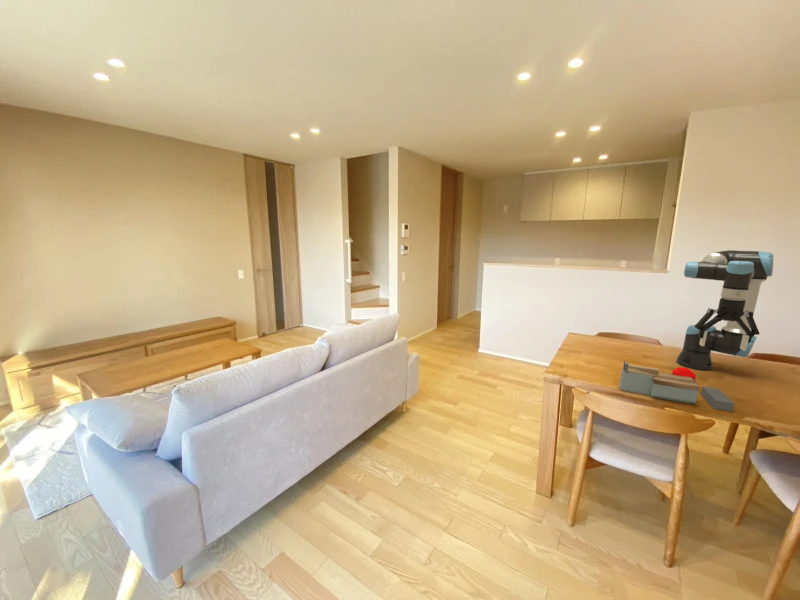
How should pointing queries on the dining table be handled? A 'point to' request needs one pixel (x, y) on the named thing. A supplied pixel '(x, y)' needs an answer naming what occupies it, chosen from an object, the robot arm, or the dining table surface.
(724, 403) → the block
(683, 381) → the lid
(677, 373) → the ball
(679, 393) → the open box
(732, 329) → the robot arm
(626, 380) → the grey block with peg
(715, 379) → the dining table surface
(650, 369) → the bar
